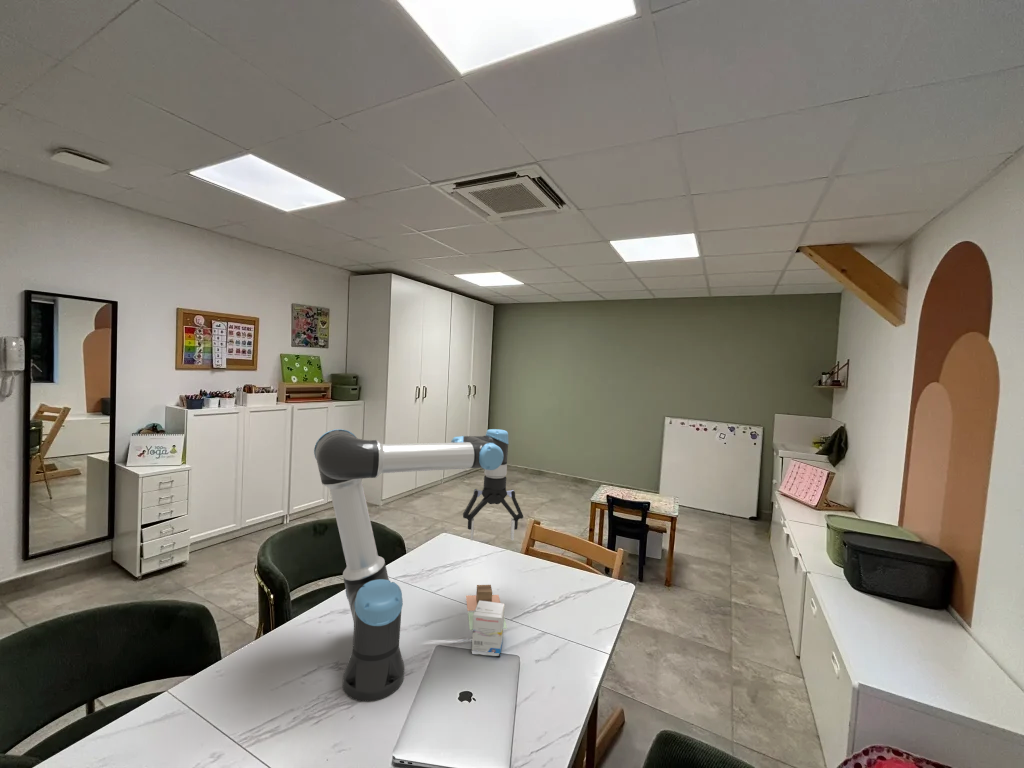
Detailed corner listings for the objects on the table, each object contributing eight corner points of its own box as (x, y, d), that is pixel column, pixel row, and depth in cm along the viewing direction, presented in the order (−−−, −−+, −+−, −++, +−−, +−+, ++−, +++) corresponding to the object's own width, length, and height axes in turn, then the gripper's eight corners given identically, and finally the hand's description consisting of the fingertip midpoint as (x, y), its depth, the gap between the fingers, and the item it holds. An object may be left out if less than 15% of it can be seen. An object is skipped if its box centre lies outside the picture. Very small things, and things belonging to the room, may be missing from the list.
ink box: (503, 640, 126) (505, 602, 126) (499, 658, 117) (502, 617, 117) (475, 636, 127) (478, 599, 127) (470, 654, 118) (473, 614, 118)
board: (510, 633, 129) (510, 629, 129) (466, 635, 127) (466, 631, 127) (500, 597, 151) (500, 593, 151) (462, 598, 148) (463, 594, 149)
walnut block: (491, 605, 142) (492, 591, 142) (477, 606, 141) (478, 592, 141) (489, 598, 147) (490, 584, 147) (476, 598, 146) (476, 584, 146)
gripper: (529, 474, 142) (526, 534, 142) (457, 472, 138) (454, 534, 138) (533, 479, 134) (530, 543, 134) (458, 477, 131) (454, 543, 131)
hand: (492, 539), depth 136 cm, fingers open, 13 cm apart
